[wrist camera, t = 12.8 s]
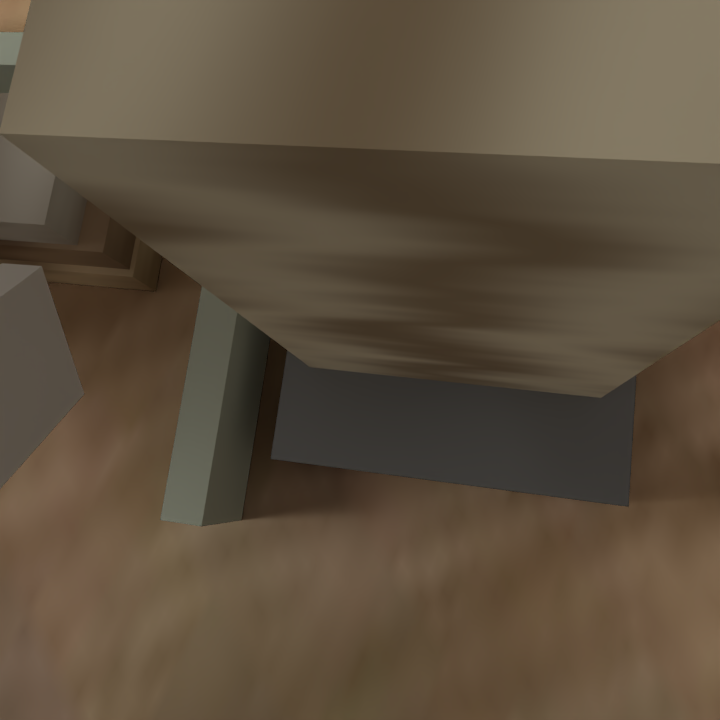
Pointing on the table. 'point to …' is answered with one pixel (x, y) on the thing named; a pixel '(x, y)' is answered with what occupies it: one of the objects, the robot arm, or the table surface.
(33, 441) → the robot arm
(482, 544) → the table surface
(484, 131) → the birch block
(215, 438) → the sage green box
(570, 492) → the rubber block
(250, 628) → the table surface
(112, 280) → the offcut stack
